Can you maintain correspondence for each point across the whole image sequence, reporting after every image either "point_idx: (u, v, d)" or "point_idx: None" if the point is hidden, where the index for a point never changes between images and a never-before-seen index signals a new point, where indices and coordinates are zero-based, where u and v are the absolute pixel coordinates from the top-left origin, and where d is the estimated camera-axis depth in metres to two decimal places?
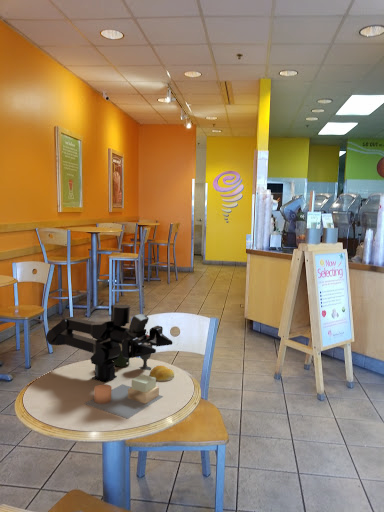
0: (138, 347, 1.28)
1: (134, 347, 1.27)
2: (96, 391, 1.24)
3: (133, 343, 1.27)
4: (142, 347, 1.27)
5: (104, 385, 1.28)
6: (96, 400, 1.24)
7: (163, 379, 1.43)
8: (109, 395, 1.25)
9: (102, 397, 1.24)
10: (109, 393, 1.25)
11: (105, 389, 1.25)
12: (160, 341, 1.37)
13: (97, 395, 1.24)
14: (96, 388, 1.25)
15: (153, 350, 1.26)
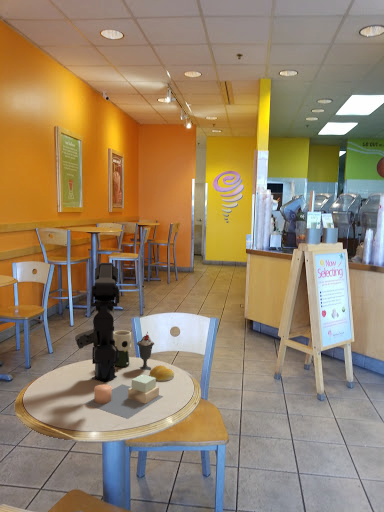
0: None
1: None
2: (96, 391, 1.24)
3: None
4: None
5: (104, 385, 1.28)
6: (96, 400, 1.24)
7: (163, 379, 1.43)
8: (109, 395, 1.25)
9: (102, 397, 1.24)
10: (109, 393, 1.25)
11: (105, 389, 1.25)
12: None
13: (97, 395, 1.24)
14: (96, 388, 1.25)
15: None
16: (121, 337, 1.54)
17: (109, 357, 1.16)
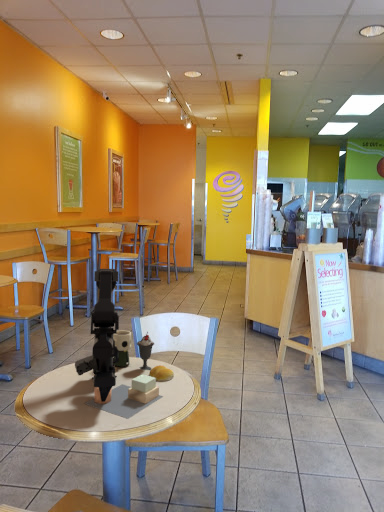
0: None
1: None
2: (96, 391, 1.24)
3: None
4: None
5: None
6: (96, 400, 1.24)
7: (162, 379, 1.43)
8: (109, 395, 1.25)
9: None
10: (109, 393, 1.25)
11: None
12: None
13: (97, 395, 1.24)
14: (96, 388, 1.25)
15: None
16: (121, 337, 1.54)
17: (108, 385, 1.17)
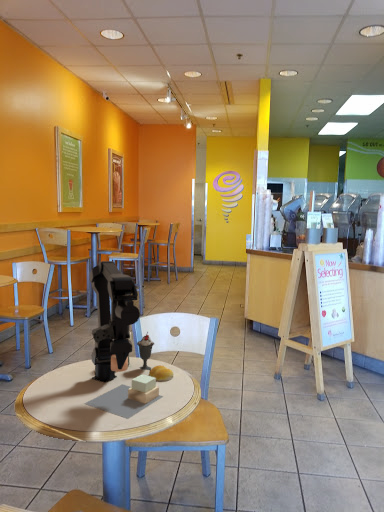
0: None
1: None
2: (113, 359, 1.24)
3: None
4: None
5: None
6: (113, 368, 1.25)
7: (162, 379, 1.43)
8: (125, 363, 1.25)
9: None
10: (125, 361, 1.25)
11: None
12: None
13: (113, 363, 1.24)
14: (113, 356, 1.26)
15: None
16: None
17: (125, 351, 1.17)
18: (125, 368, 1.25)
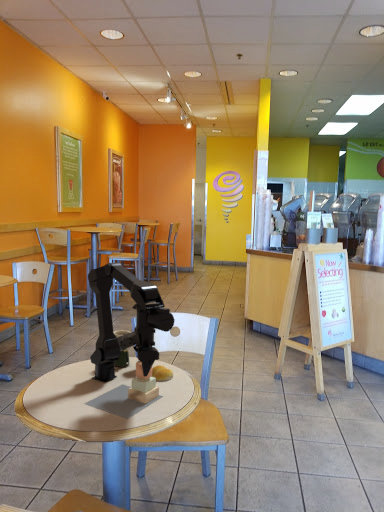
0: None
1: None
2: (138, 366, 1.27)
3: None
4: None
5: None
6: (138, 375, 1.27)
7: (162, 379, 1.43)
8: (150, 370, 1.28)
9: None
10: None
11: None
12: None
13: (138, 370, 1.27)
14: (138, 363, 1.28)
15: None
16: None
17: (153, 359, 1.20)
18: (150, 375, 1.28)
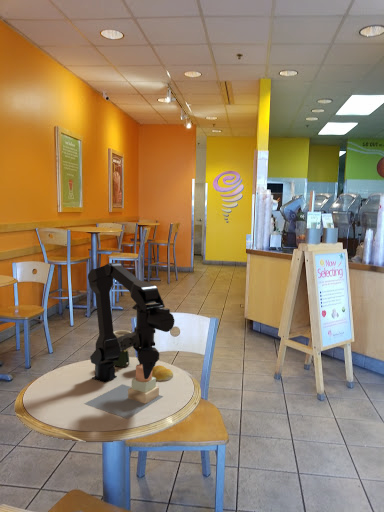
0: None
1: None
2: (138, 369, 1.27)
3: None
4: None
5: None
6: (138, 378, 1.27)
7: (162, 379, 1.43)
8: None
9: None
10: None
11: None
12: None
13: (138, 373, 1.27)
14: (138, 367, 1.28)
15: None
16: None
17: (153, 359, 1.20)
18: (150, 378, 1.28)
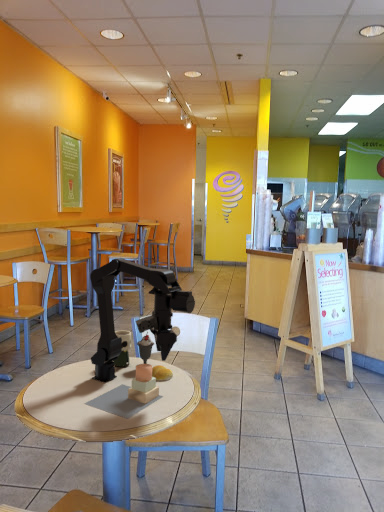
0: None
1: None
2: (138, 369, 1.27)
3: None
4: None
5: (145, 364, 1.31)
6: (138, 378, 1.27)
7: (161, 379, 1.43)
8: (150, 373, 1.28)
9: (144, 375, 1.26)
10: (150, 372, 1.28)
11: (146, 368, 1.28)
12: None
13: (138, 374, 1.27)
14: (137, 367, 1.28)
15: None
16: (121, 337, 1.54)
17: (170, 341, 1.23)
18: (150, 378, 1.28)
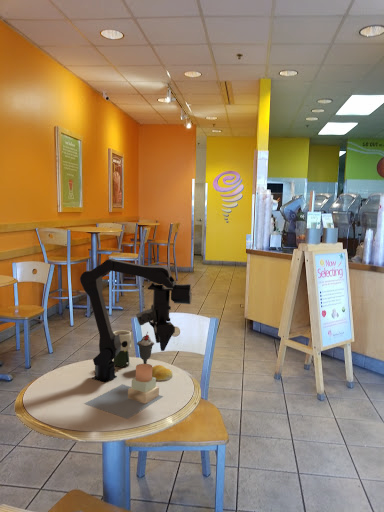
0: None
1: None
2: (138, 369, 1.27)
3: None
4: None
5: (145, 364, 1.31)
6: (138, 378, 1.27)
7: (161, 379, 1.43)
8: (150, 374, 1.28)
9: (144, 375, 1.26)
10: (150, 372, 1.28)
11: (146, 368, 1.28)
12: None
13: (138, 373, 1.27)
14: (137, 367, 1.28)
15: None
16: (121, 337, 1.54)
17: (169, 332, 1.32)
18: (150, 378, 1.28)
